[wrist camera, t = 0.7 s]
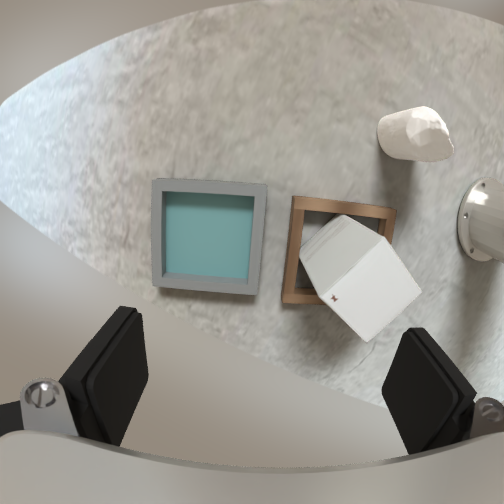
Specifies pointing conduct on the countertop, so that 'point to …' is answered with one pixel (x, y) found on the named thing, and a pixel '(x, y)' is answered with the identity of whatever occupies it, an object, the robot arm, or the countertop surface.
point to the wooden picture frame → (295, 234)
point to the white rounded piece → (415, 135)
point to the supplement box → (358, 275)
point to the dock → (207, 234)
